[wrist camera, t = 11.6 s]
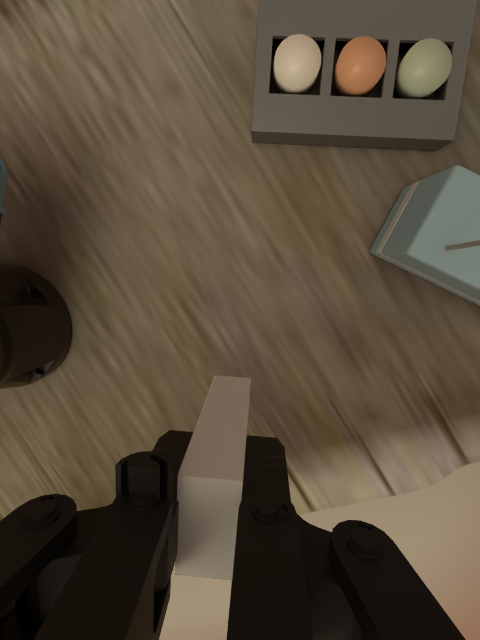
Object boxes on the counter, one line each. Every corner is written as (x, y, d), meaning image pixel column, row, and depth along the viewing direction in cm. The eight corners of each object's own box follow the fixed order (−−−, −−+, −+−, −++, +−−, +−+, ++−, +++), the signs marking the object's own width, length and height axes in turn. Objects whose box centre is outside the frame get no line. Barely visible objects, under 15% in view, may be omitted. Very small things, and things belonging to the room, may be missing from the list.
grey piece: (252, 142, 40) (251, 131, 36) (259, 19, 37) (259, -8, 34) (434, 151, 39) (454, 140, 35) (454, 25, 37) (477, -1, 33)
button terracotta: (330, 98, 36) (335, 88, 34) (335, 49, 35) (341, 35, 33) (374, 100, 36) (382, 89, 34) (380, 51, 35) (389, 36, 33)
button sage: (390, 101, 36) (399, 90, 34) (396, 52, 35) (406, 37, 33) (434, 103, 36) (447, 92, 33) (442, 53, 35) (456, 39, 33)
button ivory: (271, 96, 37) (272, 85, 34) (275, 47, 36) (276, 33, 33) (314, 98, 36) (318, 87, 34) (319, 49, 36) (323, 34, 33)
